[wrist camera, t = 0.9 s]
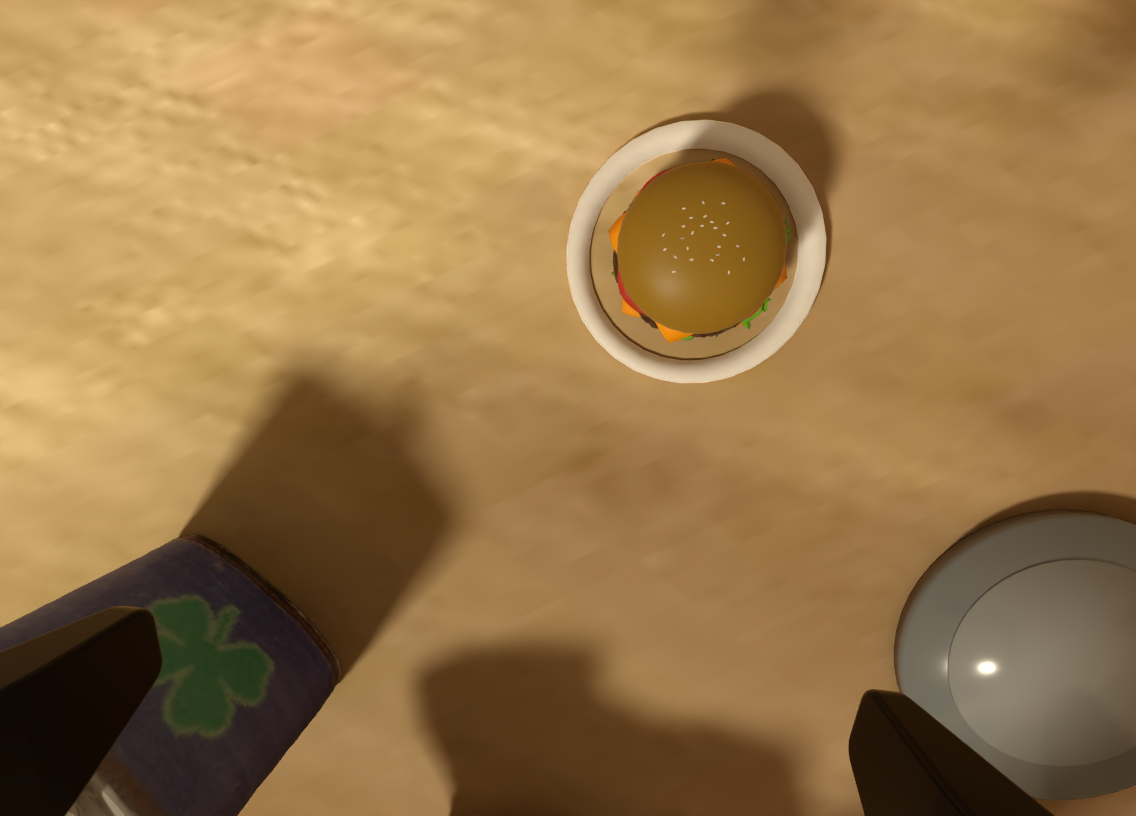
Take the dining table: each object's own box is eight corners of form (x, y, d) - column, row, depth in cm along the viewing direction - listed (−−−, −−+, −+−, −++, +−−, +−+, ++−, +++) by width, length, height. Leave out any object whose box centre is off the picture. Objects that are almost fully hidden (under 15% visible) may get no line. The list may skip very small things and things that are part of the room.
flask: (159, 558, 24) (-205, 748, 13) (200, 513, 23) (-145, 672, 13) (317, 707, 24) (86, 1004, 14) (360, 665, 24) (155, 941, 13)
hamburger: (928, 176, 19) (1047, 122, 14) (754, 473, 22) (798, 525, 16) (619, 22, 20) (618, -91, 14) (476, 333, 22) (428, 337, 16)
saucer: (1167, 803, 21) (1191, 824, 21) (869, 758, 22) (880, 776, 21) (1252, 529, 20) (1282, 539, 19) (924, 492, 20) (938, 500, 20)
